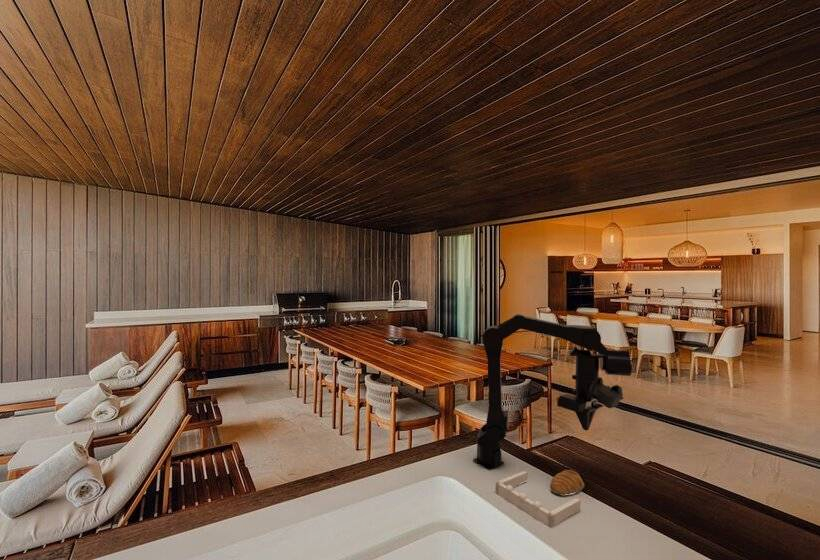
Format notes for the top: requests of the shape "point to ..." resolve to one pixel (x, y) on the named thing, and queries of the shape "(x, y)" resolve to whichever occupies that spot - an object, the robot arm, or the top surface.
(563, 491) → the pastry
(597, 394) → the robot arm
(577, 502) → the frame
